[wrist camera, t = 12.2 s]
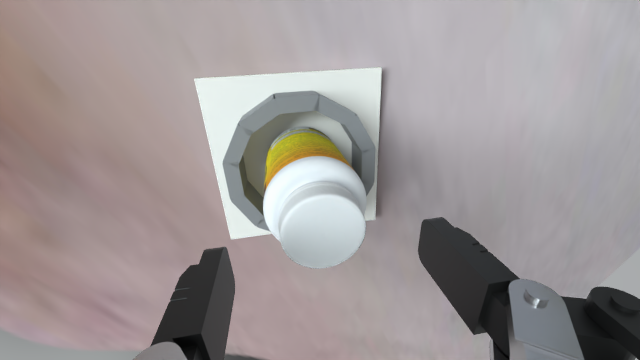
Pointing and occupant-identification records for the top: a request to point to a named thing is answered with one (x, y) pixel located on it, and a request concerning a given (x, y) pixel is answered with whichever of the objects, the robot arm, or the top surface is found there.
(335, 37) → the top surface
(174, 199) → the top surface
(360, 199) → the supplement bottle
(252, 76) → the ring holder
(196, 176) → the top surface
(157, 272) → the top surface
